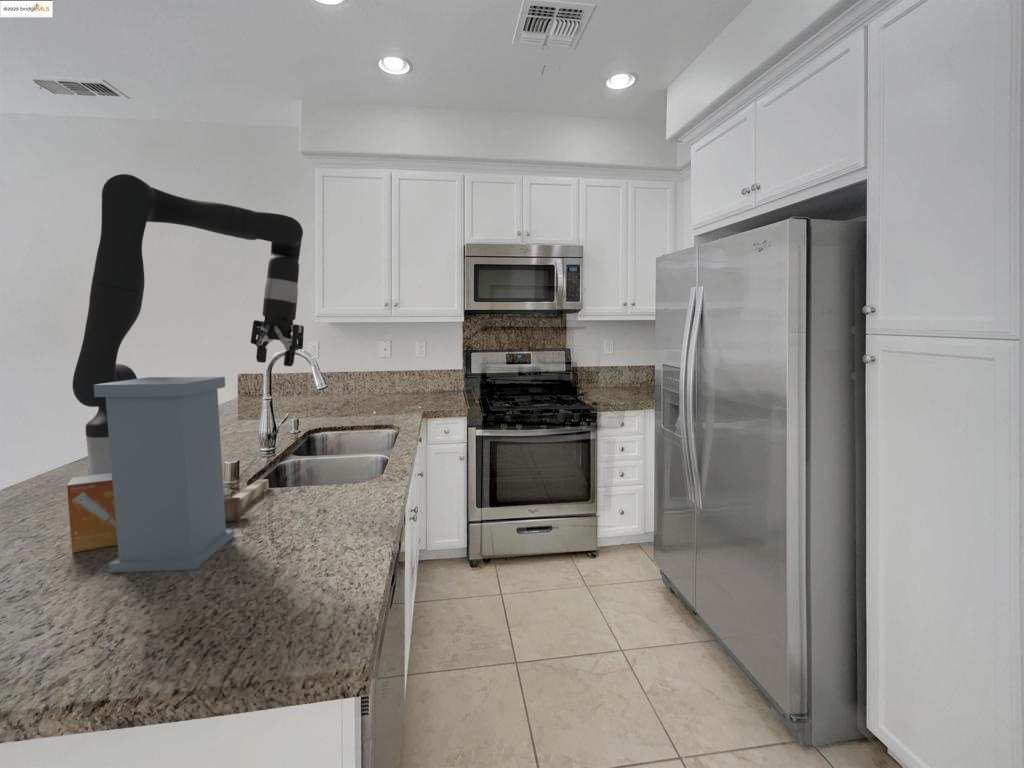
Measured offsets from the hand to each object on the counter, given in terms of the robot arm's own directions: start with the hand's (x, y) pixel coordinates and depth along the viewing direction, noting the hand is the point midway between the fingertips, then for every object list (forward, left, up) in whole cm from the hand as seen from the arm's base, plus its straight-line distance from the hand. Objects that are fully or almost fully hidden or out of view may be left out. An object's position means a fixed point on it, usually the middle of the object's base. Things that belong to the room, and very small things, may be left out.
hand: (274, 364), depth 127 cm
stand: (+11, -35, -33) cm, 49 cm away
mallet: (0, -11, -33) cm, 35 cm away
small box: (-7, -37, -33) cm, 50 cm away
